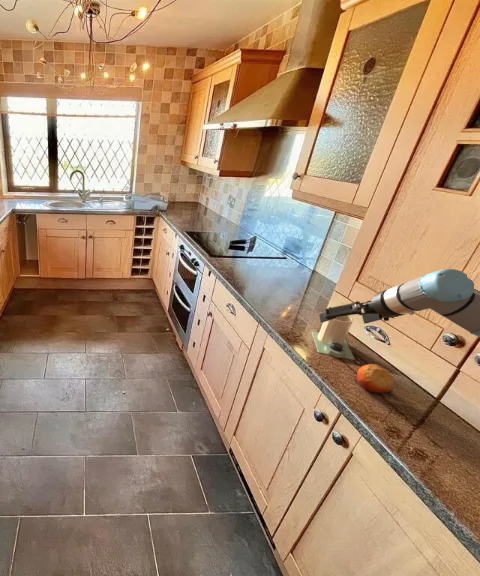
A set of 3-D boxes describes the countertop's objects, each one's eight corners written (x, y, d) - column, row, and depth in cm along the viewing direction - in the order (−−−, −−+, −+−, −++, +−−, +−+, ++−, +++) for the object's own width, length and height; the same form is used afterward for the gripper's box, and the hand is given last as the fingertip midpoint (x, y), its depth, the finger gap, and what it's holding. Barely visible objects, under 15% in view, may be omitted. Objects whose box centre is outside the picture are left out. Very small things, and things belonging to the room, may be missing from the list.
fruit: (370, 369, 94) (390, 361, 87) (382, 396, 90) (405, 389, 83) (343, 369, 94) (361, 361, 88) (354, 396, 90) (374, 389, 83)
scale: (343, 340, 110) (346, 334, 108) (354, 364, 98) (357, 357, 97) (310, 334, 113) (313, 327, 112) (317, 356, 102) (320, 349, 101)
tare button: (340, 348, 102) (342, 343, 101) (342, 352, 100) (344, 348, 99) (330, 345, 103) (331, 341, 102) (332, 350, 101) (333, 346, 100)
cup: (340, 337, 109) (350, 313, 105) (345, 349, 103) (356, 324, 99) (316, 332, 112) (325, 309, 107) (319, 343, 106) (329, 319, 101)
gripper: (351, 313, 82) (305, 329, 102) (452, 316, 80) (385, 331, 100) (345, 287, 84) (301, 307, 104) (443, 288, 82) (379, 308, 102)
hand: (342, 318), depth 102 cm, fingers open, 13 cm apart
